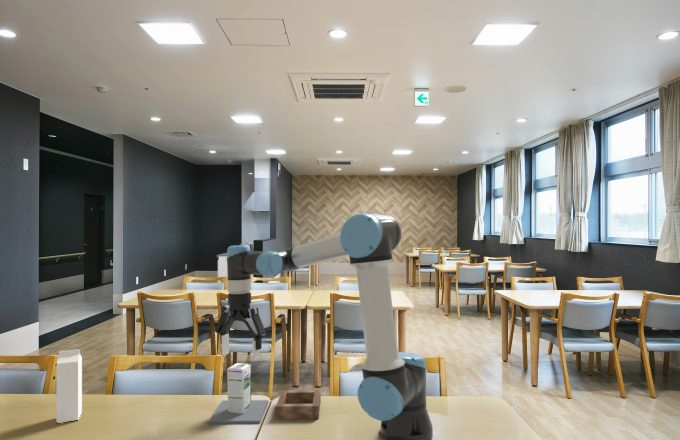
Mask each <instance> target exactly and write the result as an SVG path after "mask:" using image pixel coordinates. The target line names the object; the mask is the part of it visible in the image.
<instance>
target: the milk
mask: <svg viewBox="0 0 680 440" xmlns="http://www.w3.org/2000/svg"><path fill="white" fill-rule="evenodd" d="M55 388H56V405H55V406H56V412H55V413H56V419H55V421H56V422H63V421H71V420H78V419H79V420H80V418H81V416H82V414H81V413H83V357H82V354H81V349H80V348H79V349H68V350H59V351H58V357H57V360H56V387H55ZM80 415H81V416H80ZM79 417H80V418H79ZM79 420H78V421H79Z"/></svg>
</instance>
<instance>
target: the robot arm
mask: <svg viewBox="0 0 680 440" xmlns="http://www.w3.org/2000/svg"><path fill="white" fill-rule="evenodd" d="M401 239H402V228H401V226H400V224H399V222H398V221H397V220H396V219H395V218H394V217H392V215H391V216H390V215H389V214H385V213H384V214H383V213H373V212H372V213H371V212H362V213H358V214H357V213H356V214H354V215H352V216H350V217H349V218H348V219H346V220H345V222H344V223H343V224H342V227H341V230H340V232H339V234H334V235H332V236H329V237H325V238H322V239H319V240H315V241H310V242H307V243H303V244H300V245H296V246H292V247H289V248H286V249H280V250H278V249H277V250H276V249H275V250H264V251H263V250H262V251H260V250H259V251H251V247H250V246H249V245H247V244H246V245H230V246H228V248H227V251H226V268H227V270H226V271H227V273H226V274H227V292H228V294H227V305H223V306H222V307H221V313H220V316H219V319H218V322H217V325H216V327H215V330H214V331H215V333H217V334H219V337H220V345H221V356H226V355H228V354H230V334H229V331H230V329H231V328H232V326H233V325H234V323H235V322H237V321H238V322H243V323H244V324H245V326H246V327H247V329H248V330H249V332H250V333H251V335H252V336H253V339H252V361H253V362H254V361H255V362H256V361H257V360H260V359H261V349H262V344H263V343H262V339H263V338H265V337H267V336H268V335H267V332H266V329H265V326H264V324H263V322H262V319H261V316H260V313H259V308H258V307H257V306H256V307H253V308H252V307H251V304H252V293H251V290H252V276H251V275H256V276H265V277H266V276H267V277H268V276H276V275H278V274H279V273H285V272H293V271H298V270H299V269H302V268H307V267H310V266H314V265H318V264H322V263H327V262H330V261H334V260H337V259H342V258H347V257H349V264H350V266H351V267H353V268H354V269H355V271H356V277H357V284H358V295H359V302H360V303H359V304H360V312H361V321H362V329H363V338H364V346H365V347H364V348H365V354H366V356H365V357H366V359H365V361H363V362H362V364H361V373H362V378H363V379H362V380H361V382H360V383H359V386H358V387H357V399H358V403H359V404H360V407H361V408H362V410H363V411H364V412H366V414H367V415H368V416H369V417H370V418H372V419H374V420H377V421H380V434H381V436H382V437H383V438H384V439H385V440H431V439H432V438H433V437H434V435H433V432H434V429H433V428H434V427H433V424H432V421H431V418H430V415H429V413H428V412H429V411H428V409H427V366H426V365H427V363H426V359H425V358H424V356H422V355H420V354H418V353H412V352H406V351H405V352H404V351H398V350H399V349H398V342H397V335H396V334H397V333H396V326H395V325H396V324H395V318H394V317H395V315H394V310H393V309H394V308H393V301H392V300H393V299H392V292H391V282H390V275H389V274H390V273H389V265H390V264H391V263H392V262H393V253H392V251H394V250H395V249H396V248H397V247H398V246H399V244H400V243H401Z"/></svg>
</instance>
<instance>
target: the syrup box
mask: <svg viewBox="0 0 680 440" xmlns="http://www.w3.org/2000/svg"><path fill="white" fill-rule="evenodd" d="M251 366H252V365H251V364H250V363H245V362H242V363H241V362H240V363H239V362H238V363H234V364H233V365H231V366H229V367H227V370H226V371H227V372H226V373H227V374H226V376H227V401H228V412H230V413H238V414H244V413H245V412H246V411H247V410H248V409H249V408H251V400H252V374H251V373H252V369H251V368H252V367H251Z"/></svg>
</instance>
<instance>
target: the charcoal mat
mask: <svg viewBox="0 0 680 440" xmlns="http://www.w3.org/2000/svg"><path fill="white" fill-rule="evenodd" d="M268 404H269V400H268V399H263V400H262V399H261V400H257V399H256V400H255V399H254V400H253V399H251V408H249V409H248V410H247V411H246V412H245V413H244V414H238V413H230V412H228V400H222V401H221V402H220V404H219V405H218V407H217V408H216V410H215V411H214V413H213V414H212V415H211V417H210V418H209V420H208V424H209V425H213V424H214V425H219V424H220V425H223V424H227V425H228V424H229V425H231V424H232V425H233V424H234V425H235V424H237V425H238V424H261V422H262V420H263V418H264V417H263V416H264V415H265V412H266V409H267V406H268Z"/></svg>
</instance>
